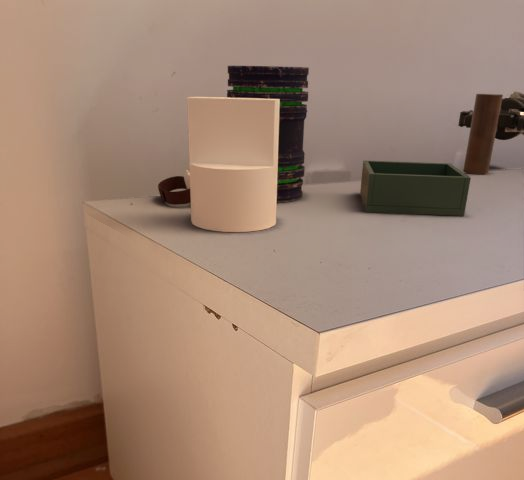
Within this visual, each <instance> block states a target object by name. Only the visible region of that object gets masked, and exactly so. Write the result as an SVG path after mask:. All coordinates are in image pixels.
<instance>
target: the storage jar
mask: <svg viewBox="0 0 524 480" xmlns="http://www.w3.org/2000/svg"><path fill="white" fill-rule="evenodd" d="M309 71H310V67H307V66H306V67H305V66H279V65H278V66H274V65H227V74H228V79H227V87H232V89H227V90H226V97H227V98H261V99H280V109H279V140H278V172H277V203H279V204H280V203H290V202H294V201H299V200H301V199H302V198H303V192H304V191H303V190H302V189H303V188H302V187H303V185H304V180H303V179H302V178H304V177H305V166H304V164H305V154H306V152H305V151H304V138H305V137H304V136H305V120H306V118H307V113H308V110H307V109H308V105H307V104H306V102H309V91H304V90H303V89H309V80H308V76H309V74H310V73H309ZM303 103H304V104H303ZM277 203H276V204H277Z"/></svg>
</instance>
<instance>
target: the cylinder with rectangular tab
mask: <svg viewBox="0 0 524 480" xmlns="http://www.w3.org/2000/svg"><path fill="white" fill-rule="evenodd" d="M186 101H187V103H186V105H187V107H186V108H187V133H188V134H187V135H188V163H189V172H190V196H191V203H190V220H191V221H190V222H191V224H192V225H193V226H194V227H197V228H199V229H203V230H206V231H207V230H208V231H213V232H221V233H223V232H224V233H248V232H258V231H262V230H267V229H270V228H272V227H274V226H275V225H277V172H278V140H279V109H280V99H261V98H227V96H226V97H223V96H221V97H220V96H188V97H187V98H186Z"/></svg>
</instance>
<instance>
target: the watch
mask: <svg viewBox="0 0 524 480" xmlns="http://www.w3.org/2000/svg"><path fill="white" fill-rule="evenodd" d="M157 189H158V193H159V196H160V199H161V202H163V203H164V204H165V203H167V204H169V205H173V206H181V205H187V204H191V196H190V171H189V170H188V169H186V170H185V173H184V176H183V175H182V176H181V175H175V176H170V177H167V178H165V179H163V180H161V181H160V182H159V183H158V185H157ZM174 190H175V191H174ZM177 190H178V191H177Z"/></svg>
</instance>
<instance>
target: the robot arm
mask: <svg viewBox="0 0 524 480" xmlns="http://www.w3.org/2000/svg"><path fill="white" fill-rule="evenodd" d="M513 92H514V93H513V94H511V95H510V97H509V98H506V97H505V98H504V97H503V98H502V103H501V108H500V113H499V119H498V124H497V129H496V135H495V140H498V141H499V140H500V141H509V140H512V139H514V138H516V137H518V136H520V135H522V136H524V93H522V92H520V91H513ZM473 111H474V109H470V110H462V111H460V112H459V119H458V124H457V126H458V127H459V128H463V127H465V128H467V129H470V128H471V122H472V117H473Z"/></svg>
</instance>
